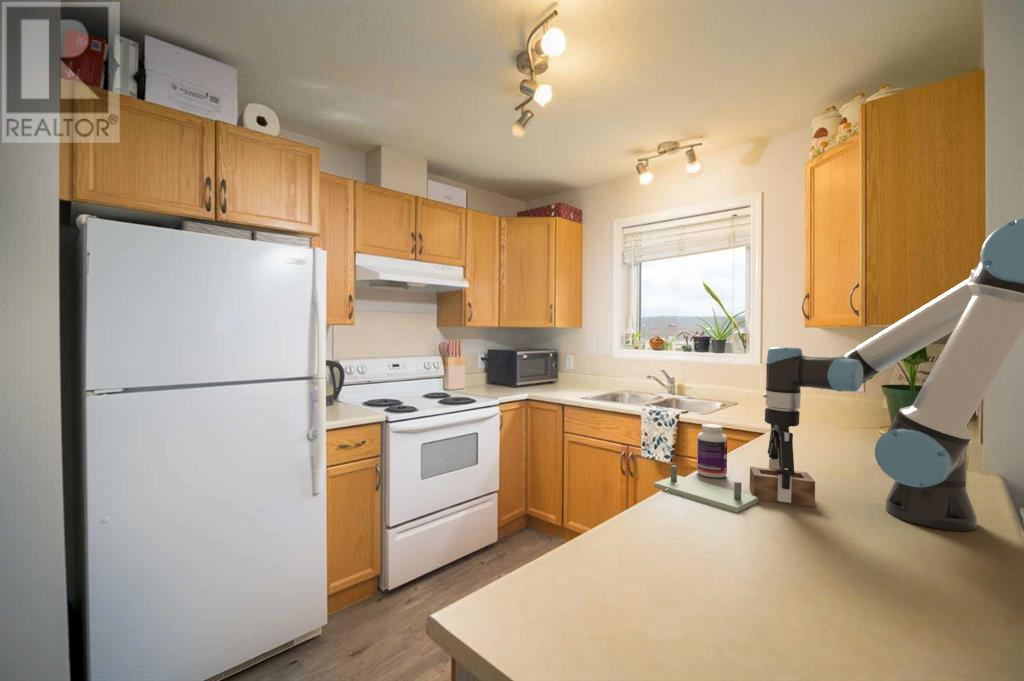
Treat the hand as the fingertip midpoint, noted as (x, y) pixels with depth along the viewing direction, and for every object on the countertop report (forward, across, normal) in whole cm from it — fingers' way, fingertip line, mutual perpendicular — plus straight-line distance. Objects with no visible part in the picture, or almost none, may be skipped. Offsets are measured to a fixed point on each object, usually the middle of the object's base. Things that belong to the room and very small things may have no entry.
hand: (778, 492), depth 116 cm
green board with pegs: (+1, +5, -18) cm, 19 cm away
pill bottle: (+2, -13, -15) cm, 20 cm away
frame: (+1, 0, 0) cm, 1 cm away
